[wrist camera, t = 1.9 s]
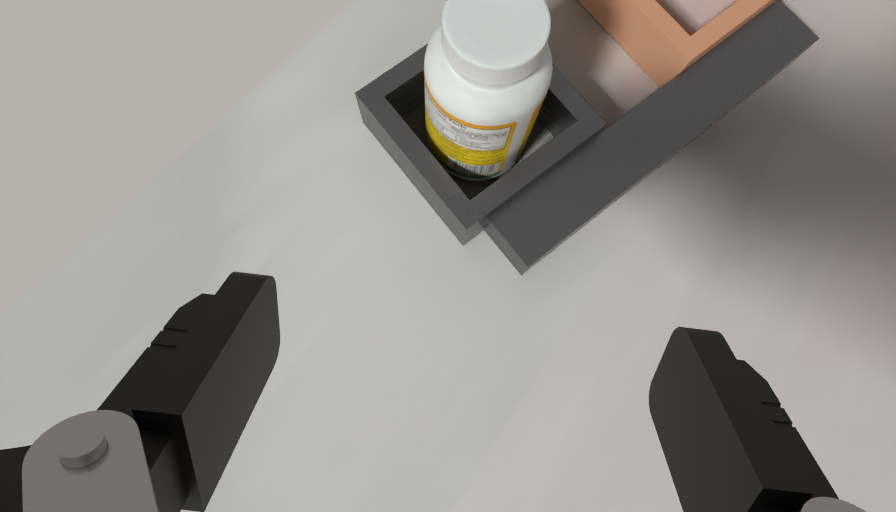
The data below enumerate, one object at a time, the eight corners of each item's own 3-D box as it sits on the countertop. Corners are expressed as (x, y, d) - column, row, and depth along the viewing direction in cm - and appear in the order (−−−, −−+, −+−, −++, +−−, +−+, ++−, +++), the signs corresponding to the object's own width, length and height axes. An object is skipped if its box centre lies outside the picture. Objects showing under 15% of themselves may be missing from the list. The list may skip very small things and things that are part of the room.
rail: (654, -79, 32) (676, -125, 29) (794, 60, 30) (833, 26, 27) (363, 122, 29) (354, 93, 26) (500, 291, 27) (508, 281, 24)
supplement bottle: (463, 202, 28) (477, 113, 18) (405, 124, 29) (391, 1, 19) (546, 148, 29) (600, 37, 19) (487, 73, 30) (512, -68, 20)
